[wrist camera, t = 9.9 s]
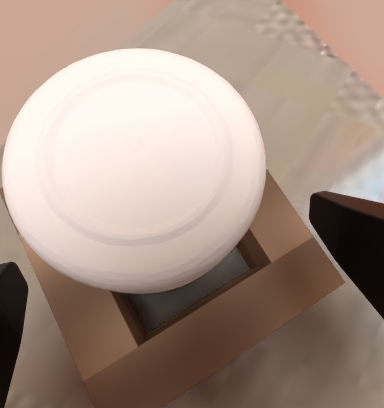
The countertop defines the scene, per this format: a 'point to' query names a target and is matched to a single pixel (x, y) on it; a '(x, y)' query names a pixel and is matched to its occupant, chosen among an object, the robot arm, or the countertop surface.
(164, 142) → the sprinkles bottle
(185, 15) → the countertop surface
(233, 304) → the socket block
